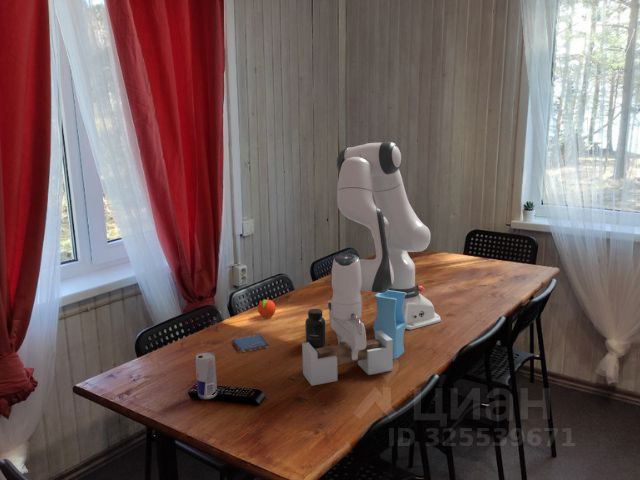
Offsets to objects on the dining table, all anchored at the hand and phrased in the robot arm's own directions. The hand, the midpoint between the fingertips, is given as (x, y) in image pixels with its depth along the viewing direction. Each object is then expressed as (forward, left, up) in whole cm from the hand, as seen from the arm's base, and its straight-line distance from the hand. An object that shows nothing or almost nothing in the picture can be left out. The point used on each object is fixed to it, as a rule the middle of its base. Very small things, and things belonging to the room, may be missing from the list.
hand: (347, 352), depth 171 cm
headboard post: (-8, 0, -6) cm, 10 cm away
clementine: (+11, -56, -7) cm, 57 cm away
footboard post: (+8, 0, -6) cm, 10 cm away
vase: (-18, -8, -7) cm, 21 cm away
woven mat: (+23, -32, -7) cm, 40 cm away
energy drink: (+42, -2, -7) cm, 43 cm away
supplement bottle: (+2, -24, -7) cm, 25 cm away
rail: (0, 0, -2) cm, 2 cm away
